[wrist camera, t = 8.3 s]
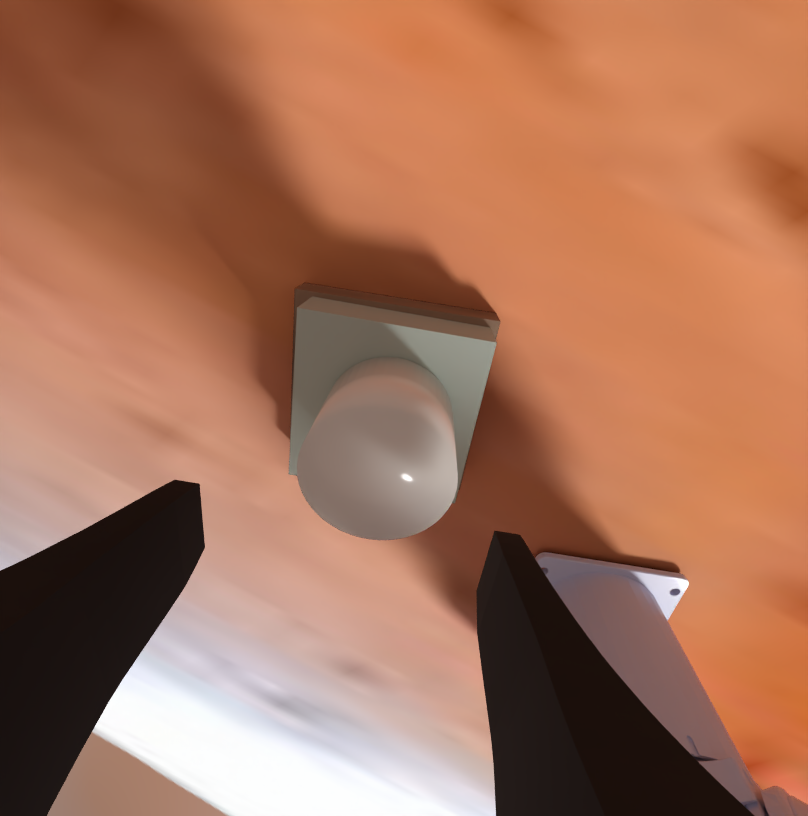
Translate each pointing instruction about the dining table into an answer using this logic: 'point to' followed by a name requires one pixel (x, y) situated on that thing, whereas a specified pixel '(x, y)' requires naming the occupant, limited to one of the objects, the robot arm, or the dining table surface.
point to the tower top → (386, 337)
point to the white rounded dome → (381, 451)
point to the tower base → (393, 304)
